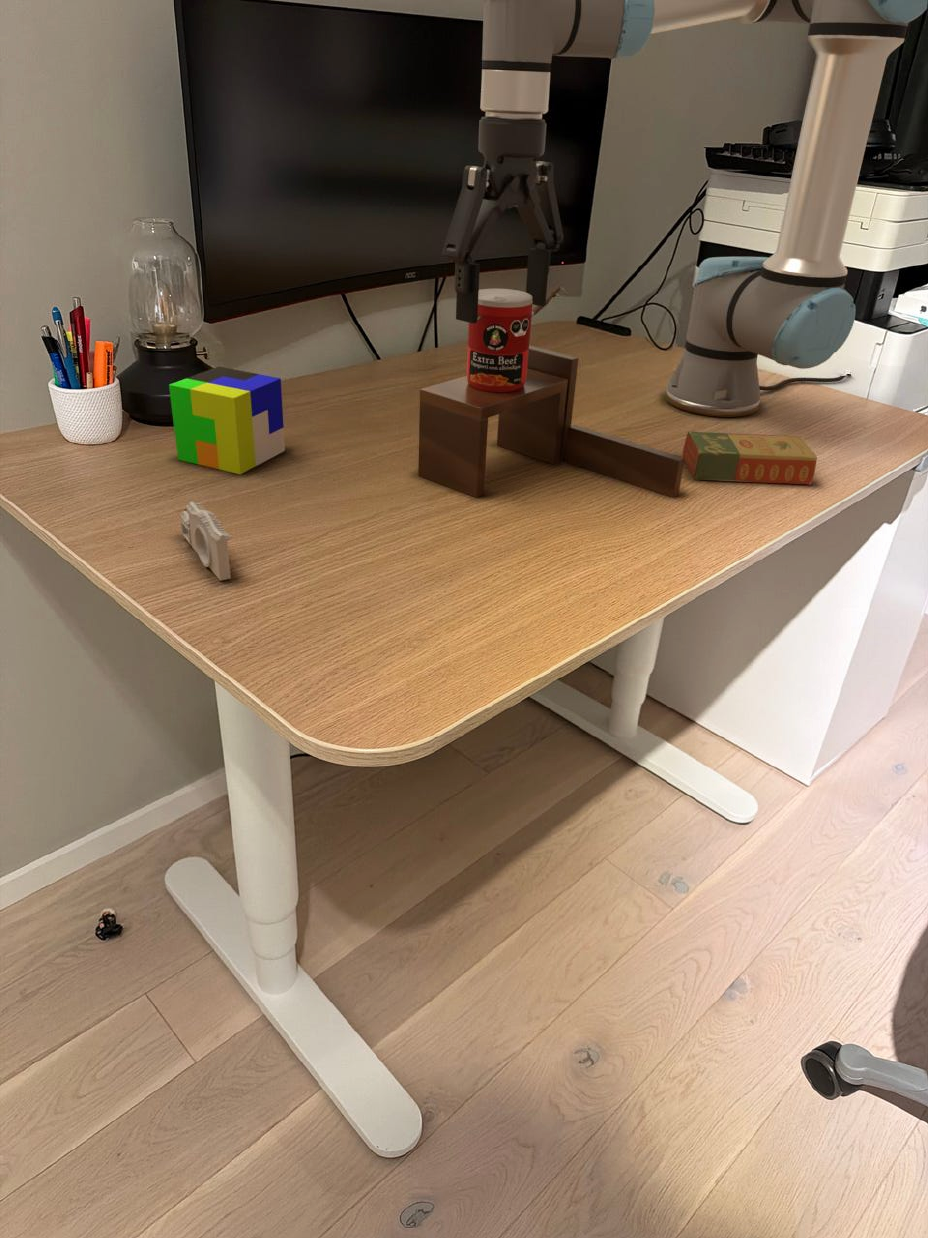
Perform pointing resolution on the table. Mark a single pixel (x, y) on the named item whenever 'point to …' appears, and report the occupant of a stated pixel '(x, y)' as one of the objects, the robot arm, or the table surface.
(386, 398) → the table surface
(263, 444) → the puzzle toy
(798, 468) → the carton
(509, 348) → the canned food
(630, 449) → the step shelf
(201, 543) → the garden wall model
